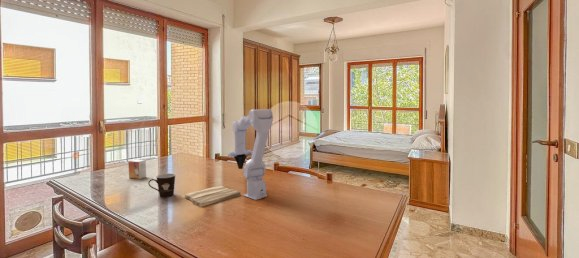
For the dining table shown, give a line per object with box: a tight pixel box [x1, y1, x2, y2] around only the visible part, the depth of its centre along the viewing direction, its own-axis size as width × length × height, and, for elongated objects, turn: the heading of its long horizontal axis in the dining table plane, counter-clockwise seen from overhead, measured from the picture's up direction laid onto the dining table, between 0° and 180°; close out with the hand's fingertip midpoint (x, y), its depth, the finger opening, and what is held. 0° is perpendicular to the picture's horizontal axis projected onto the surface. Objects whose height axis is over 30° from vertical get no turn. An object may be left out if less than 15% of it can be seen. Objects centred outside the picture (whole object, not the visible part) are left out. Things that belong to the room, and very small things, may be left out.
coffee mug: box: [147, 173, 176, 198], centre depth 145 cm, size 12×9×10 cm
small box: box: [128, 159, 147, 180], centre depth 179 cm, size 8×6×10 cm
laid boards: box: [192, 188, 242, 208], centre depth 140 cm, size 7×22×2 cm, turn 137°
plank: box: [184, 185, 230, 202], centre depth 146 cm, size 8×20×2 cm, turn 137°
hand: (240, 168), depth 157 cm, fingers closed
